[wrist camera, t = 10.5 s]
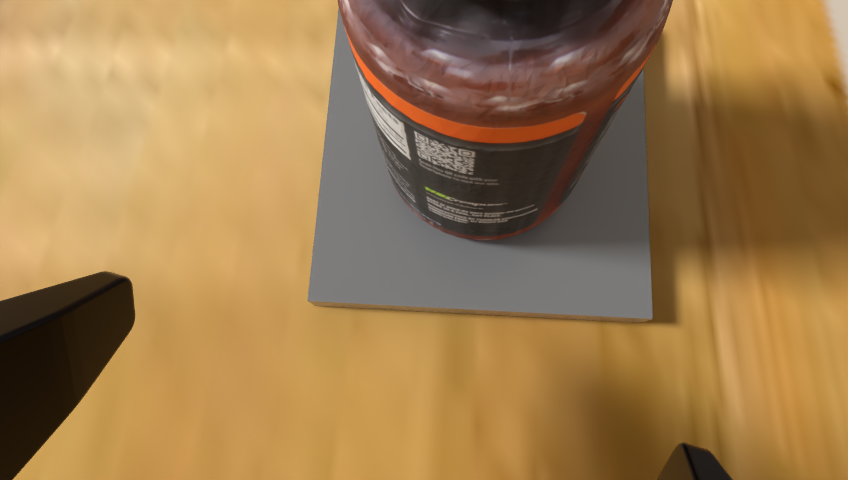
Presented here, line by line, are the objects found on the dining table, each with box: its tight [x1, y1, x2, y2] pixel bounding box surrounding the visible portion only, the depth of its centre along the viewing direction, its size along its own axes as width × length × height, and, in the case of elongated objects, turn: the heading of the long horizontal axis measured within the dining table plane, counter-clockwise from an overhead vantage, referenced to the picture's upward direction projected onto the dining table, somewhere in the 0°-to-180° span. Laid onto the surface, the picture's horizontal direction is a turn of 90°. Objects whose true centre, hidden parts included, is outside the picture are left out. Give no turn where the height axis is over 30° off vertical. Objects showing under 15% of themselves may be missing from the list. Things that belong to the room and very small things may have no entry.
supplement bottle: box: [338, 0, 673, 241], centre depth 13 cm, size 6×6×11 cm
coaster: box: [308, 10, 653, 323], centre depth 19 cm, size 10×10×1 cm
